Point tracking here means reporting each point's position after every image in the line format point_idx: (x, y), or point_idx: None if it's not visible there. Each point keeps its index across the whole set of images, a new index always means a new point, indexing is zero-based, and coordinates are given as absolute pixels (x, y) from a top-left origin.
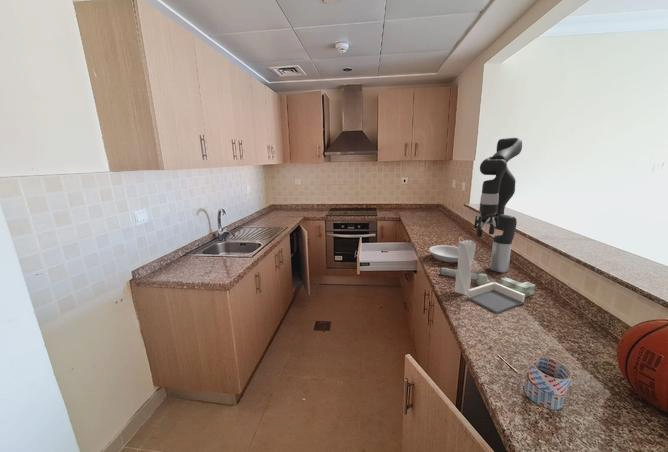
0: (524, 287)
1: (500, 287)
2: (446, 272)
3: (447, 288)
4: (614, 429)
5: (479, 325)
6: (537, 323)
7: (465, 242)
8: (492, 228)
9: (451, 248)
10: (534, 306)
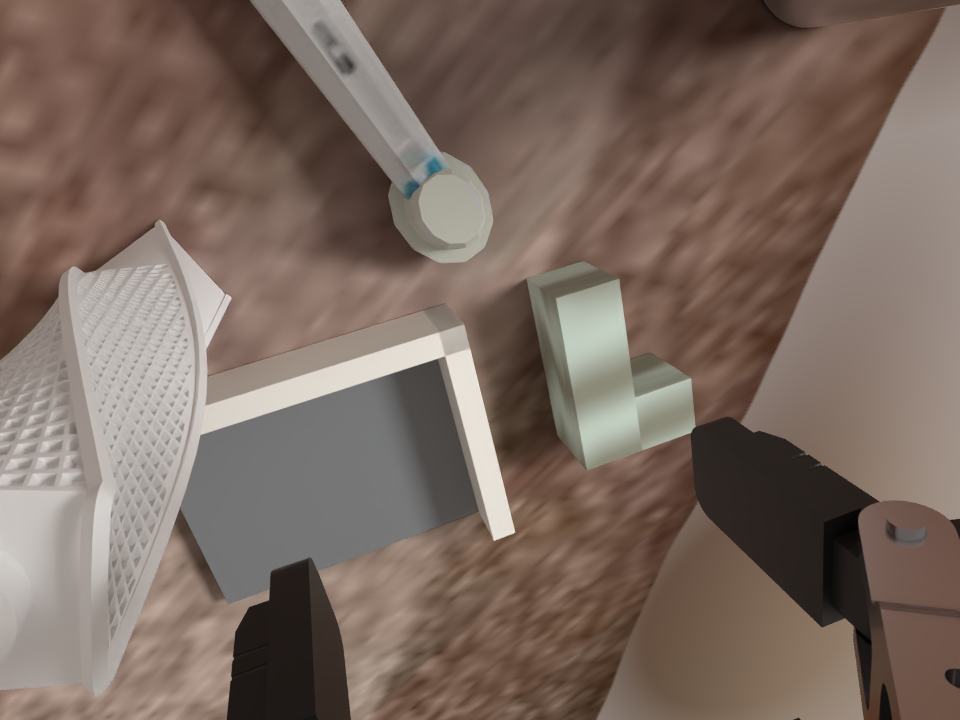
0: (591, 458)
1: (454, 397)
2: None
3: (38, 200)
4: None
5: (20, 699)
6: (387, 670)
7: None
8: (796, 576)
9: None
10: (523, 528)
